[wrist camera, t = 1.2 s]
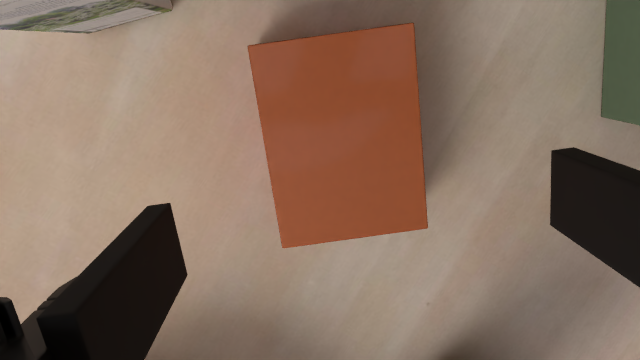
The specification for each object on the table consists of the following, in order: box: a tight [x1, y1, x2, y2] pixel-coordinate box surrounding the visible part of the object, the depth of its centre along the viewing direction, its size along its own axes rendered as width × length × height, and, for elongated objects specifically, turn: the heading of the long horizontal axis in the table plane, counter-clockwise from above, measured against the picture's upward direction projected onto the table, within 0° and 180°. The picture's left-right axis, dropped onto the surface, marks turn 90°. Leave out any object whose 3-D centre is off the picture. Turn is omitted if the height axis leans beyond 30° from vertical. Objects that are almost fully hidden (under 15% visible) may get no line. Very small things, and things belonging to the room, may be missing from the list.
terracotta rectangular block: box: [248, 23, 428, 248], centre depth 27 cm, size 12×9×4 cm
